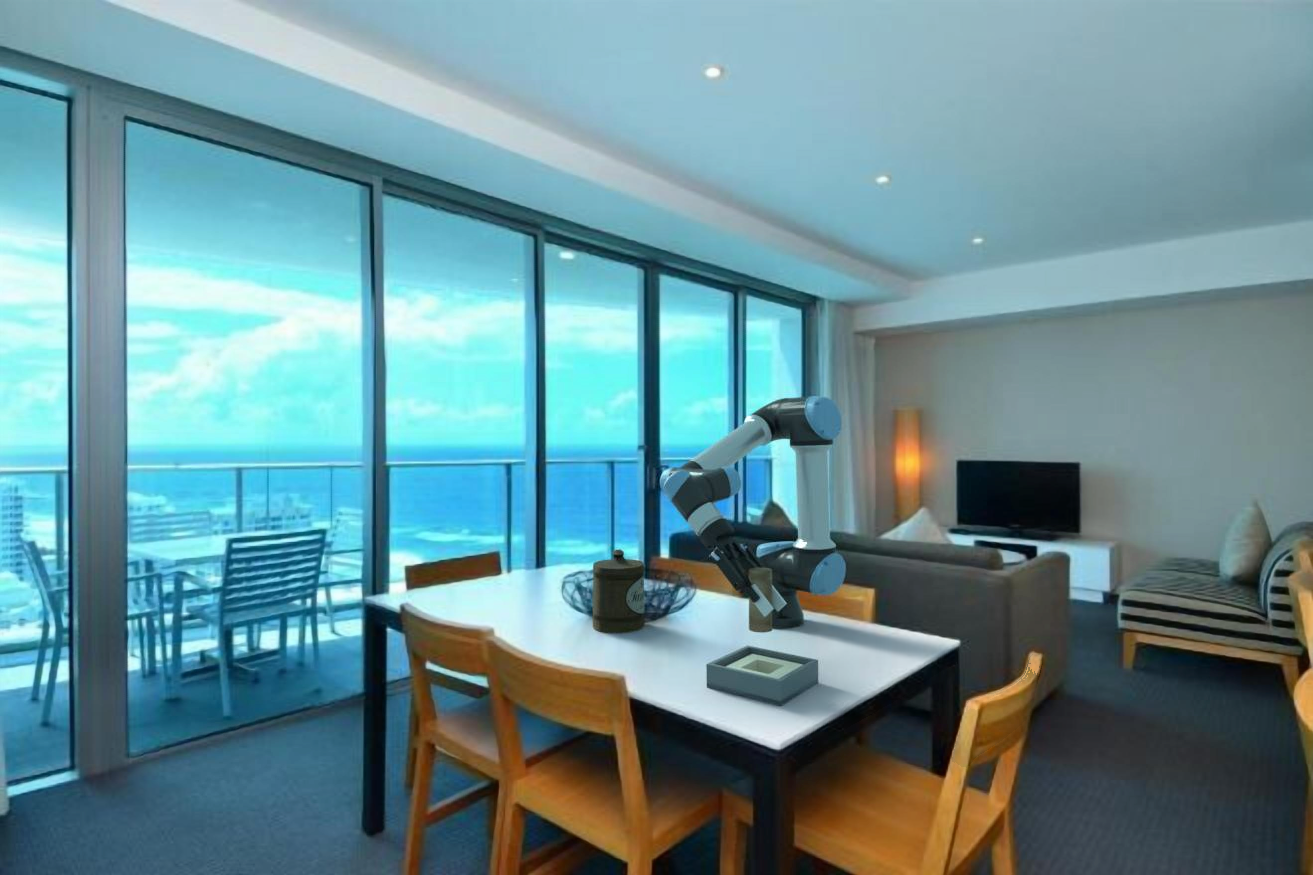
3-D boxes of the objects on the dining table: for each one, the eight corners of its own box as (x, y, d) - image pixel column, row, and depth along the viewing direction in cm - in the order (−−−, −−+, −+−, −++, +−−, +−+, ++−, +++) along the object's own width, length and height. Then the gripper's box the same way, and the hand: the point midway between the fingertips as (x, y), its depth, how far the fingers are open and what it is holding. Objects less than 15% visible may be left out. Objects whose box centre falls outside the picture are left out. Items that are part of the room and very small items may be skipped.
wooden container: (643, 633, 197) (642, 553, 197) (590, 633, 197) (589, 554, 197) (645, 619, 212) (644, 545, 212) (595, 619, 212) (594, 545, 212)
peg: (756, 624, 159) (756, 566, 159) (776, 628, 156) (776, 569, 156) (744, 629, 155) (744, 570, 155) (764, 633, 152) (764, 572, 152)
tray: (747, 666, 168) (747, 645, 168) (818, 682, 157) (818, 659, 157) (706, 687, 155) (706, 664, 155) (780, 706, 144) (780, 681, 144)
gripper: (723, 533, 172) (784, 612, 162) (678, 542, 158) (743, 629, 148) (742, 513, 169) (806, 591, 158) (698, 520, 155) (765, 607, 144)
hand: (775, 609), depth 153 cm, fingers closed on peg, 5 cm apart
